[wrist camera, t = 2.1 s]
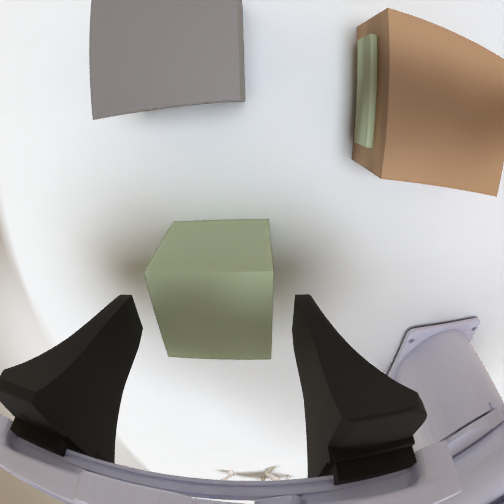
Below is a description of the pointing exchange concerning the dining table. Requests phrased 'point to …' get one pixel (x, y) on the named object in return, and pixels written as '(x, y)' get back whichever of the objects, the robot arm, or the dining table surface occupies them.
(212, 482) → the robot arm
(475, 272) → the dining table surface
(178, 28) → the charcoal block
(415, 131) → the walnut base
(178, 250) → the sage block
